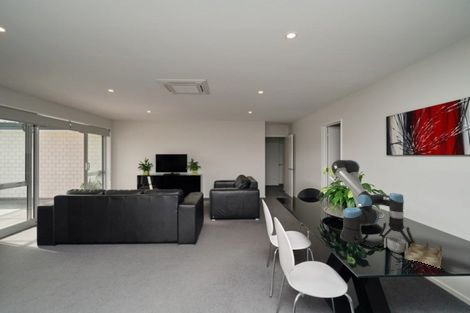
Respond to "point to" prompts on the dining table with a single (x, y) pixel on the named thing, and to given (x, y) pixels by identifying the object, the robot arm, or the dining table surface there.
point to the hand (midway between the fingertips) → (395, 250)
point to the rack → (424, 254)
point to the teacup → (396, 244)
